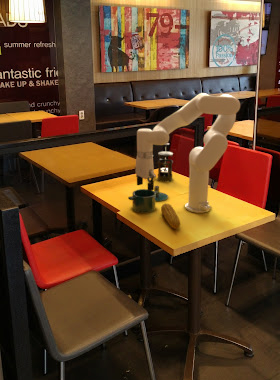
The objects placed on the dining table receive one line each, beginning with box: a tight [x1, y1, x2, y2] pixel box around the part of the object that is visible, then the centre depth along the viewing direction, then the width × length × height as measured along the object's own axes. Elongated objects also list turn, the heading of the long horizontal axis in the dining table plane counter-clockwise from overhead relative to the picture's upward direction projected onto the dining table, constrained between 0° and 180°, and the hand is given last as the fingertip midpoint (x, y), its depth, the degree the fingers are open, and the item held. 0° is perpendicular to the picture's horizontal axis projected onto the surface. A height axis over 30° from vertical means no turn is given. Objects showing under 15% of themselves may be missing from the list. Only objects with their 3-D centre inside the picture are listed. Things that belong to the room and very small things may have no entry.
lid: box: [153, 185, 169, 202], centre depth 212 cm, size 12×12×7 cm
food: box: [160, 203, 181, 230], centre depth 183 cm, size 21×6×6 cm, turn 12°
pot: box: [128, 188, 160, 214], centre depth 197 cm, size 11×17×8 cm
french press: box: [156, 142, 174, 183], centre depth 241 cm, size 12×9×23 cm
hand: (145, 187), depth 196 cm, fingers open, 9 cm apart
